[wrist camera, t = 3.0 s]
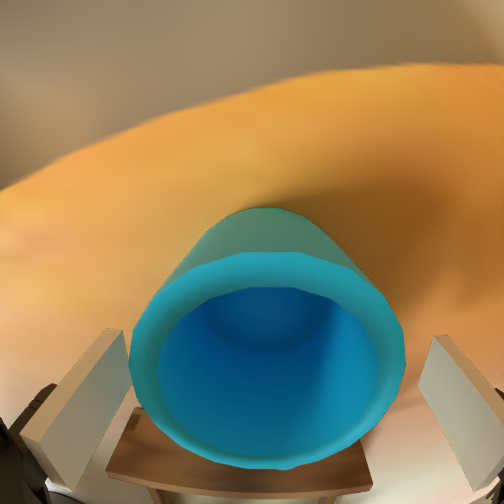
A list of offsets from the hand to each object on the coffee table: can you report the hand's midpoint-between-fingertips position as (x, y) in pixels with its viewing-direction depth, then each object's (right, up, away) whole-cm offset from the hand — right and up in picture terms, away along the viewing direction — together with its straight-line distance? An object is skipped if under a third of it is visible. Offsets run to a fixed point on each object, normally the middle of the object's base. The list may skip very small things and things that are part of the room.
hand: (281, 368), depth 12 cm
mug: (0, +1, +5) cm, 5 cm away
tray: (-2, -14, +9) cm, 17 cm away
